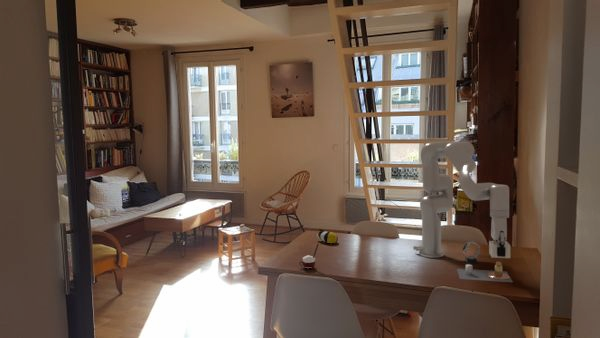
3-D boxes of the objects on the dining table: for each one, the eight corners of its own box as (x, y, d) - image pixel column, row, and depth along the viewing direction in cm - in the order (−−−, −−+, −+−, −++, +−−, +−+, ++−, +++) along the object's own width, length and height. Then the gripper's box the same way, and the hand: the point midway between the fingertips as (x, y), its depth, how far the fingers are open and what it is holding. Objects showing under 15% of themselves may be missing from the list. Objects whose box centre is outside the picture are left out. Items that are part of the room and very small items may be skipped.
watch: (461, 262, 209) (461, 240, 208) (478, 262, 208) (478, 240, 207) (463, 265, 204) (463, 243, 203) (480, 266, 202) (481, 243, 202)
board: (459, 282, 182) (459, 269, 182) (456, 271, 195) (456, 260, 195) (513, 285, 176) (513, 272, 176) (506, 274, 190) (506, 262, 189)
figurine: (322, 239, 262) (322, 226, 262) (340, 243, 252) (340, 230, 251) (313, 241, 257) (312, 228, 256) (331, 246, 246) (331, 232, 245)
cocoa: (298, 270, 205) (296, 246, 204) (303, 265, 211) (301, 242, 210) (317, 270, 202) (315, 246, 201) (321, 266, 208) (319, 242, 206)
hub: (488, 278, 181) (489, 264, 181) (485, 272, 190) (485, 258, 189) (511, 280, 179) (512, 265, 178) (507, 273, 187) (507, 259, 187)
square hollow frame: (491, 257, 181) (491, 244, 180) (489, 253, 187) (489, 240, 187) (510, 258, 179) (510, 245, 178) (506, 253, 186) (506, 241, 185)
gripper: (486, 209, 191) (487, 248, 192) (493, 216, 174) (493, 259, 176) (505, 210, 189) (505, 249, 190) (513, 217, 172) (513, 259, 174)
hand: (499, 253), depth 183 cm, fingers closed on square hollow frame, 7 cm apart
